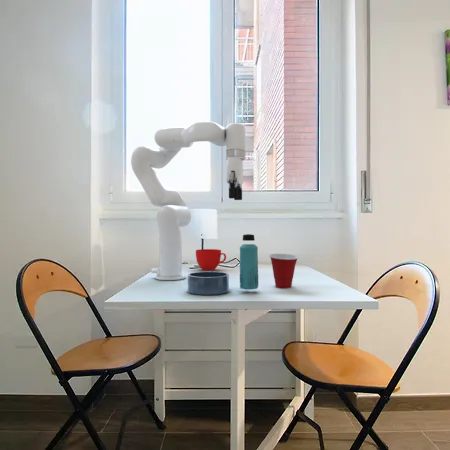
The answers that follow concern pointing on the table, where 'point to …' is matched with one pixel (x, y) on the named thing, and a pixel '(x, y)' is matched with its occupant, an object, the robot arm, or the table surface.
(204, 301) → the table surface
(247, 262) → the beverage bottle
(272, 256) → the plastic cup
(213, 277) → the blue-grey round bowl
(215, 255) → the ceramic cup
